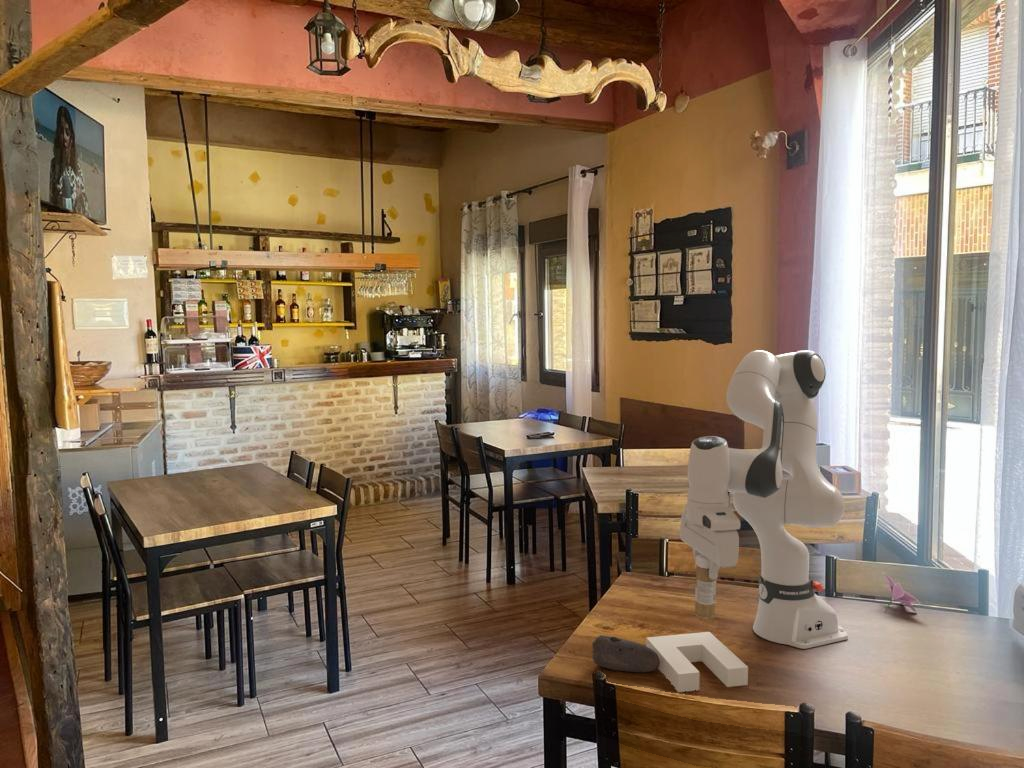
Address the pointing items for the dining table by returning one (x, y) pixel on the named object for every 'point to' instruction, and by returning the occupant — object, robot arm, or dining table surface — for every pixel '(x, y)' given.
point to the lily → (900, 593)
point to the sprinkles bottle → (704, 590)
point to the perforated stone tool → (624, 655)
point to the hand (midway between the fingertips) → (706, 573)
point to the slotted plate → (696, 660)
